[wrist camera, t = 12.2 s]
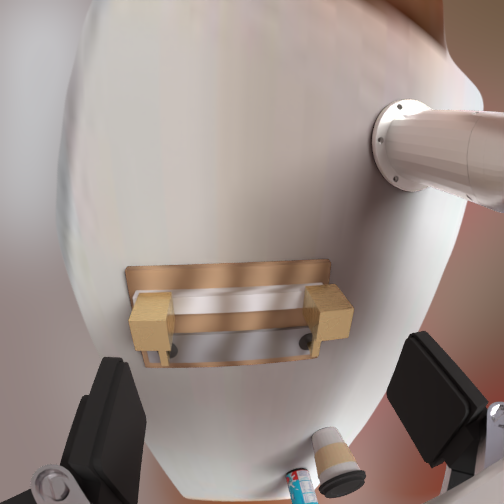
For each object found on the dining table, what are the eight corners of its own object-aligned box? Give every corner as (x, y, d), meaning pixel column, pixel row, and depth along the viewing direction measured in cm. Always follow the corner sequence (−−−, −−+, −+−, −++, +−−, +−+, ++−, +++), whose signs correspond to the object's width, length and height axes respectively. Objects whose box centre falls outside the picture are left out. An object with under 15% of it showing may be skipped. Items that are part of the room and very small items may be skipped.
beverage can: (283, 471, 60) (295, 520, 47) (306, 465, 61) (321, 513, 47) (287, 479, 63) (298, 525, 49) (309, 473, 63) (323, 518, 49)
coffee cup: (312, 450, 58) (329, 503, 44) (296, 434, 54) (314, 494, 40) (349, 432, 57) (372, 484, 43) (338, 415, 53) (363, 473, 40)
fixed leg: (332, 280, 38) (354, 308, 32) (322, 344, 42) (338, 376, 36) (303, 282, 38) (320, 312, 31) (296, 348, 42) (309, 381, 35)
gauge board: (328, 259, 40) (336, 269, 37) (314, 353, 46) (320, 366, 43) (127, 266, 37) (121, 277, 34) (146, 362, 42) (143, 376, 40)
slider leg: (172, 288, 36) (165, 320, 30) (181, 354, 40) (178, 390, 33) (140, 289, 35) (128, 320, 29) (153, 354, 39) (146, 390, 33)
